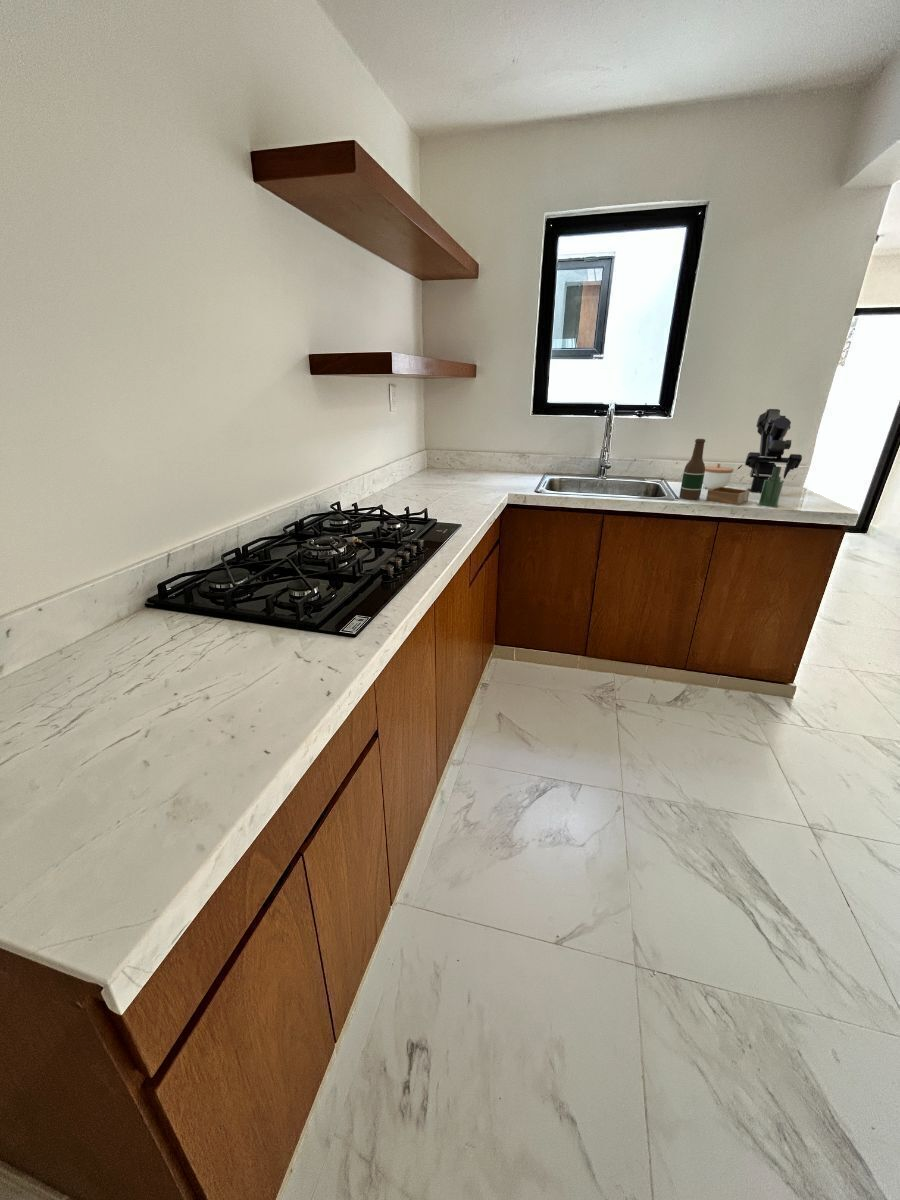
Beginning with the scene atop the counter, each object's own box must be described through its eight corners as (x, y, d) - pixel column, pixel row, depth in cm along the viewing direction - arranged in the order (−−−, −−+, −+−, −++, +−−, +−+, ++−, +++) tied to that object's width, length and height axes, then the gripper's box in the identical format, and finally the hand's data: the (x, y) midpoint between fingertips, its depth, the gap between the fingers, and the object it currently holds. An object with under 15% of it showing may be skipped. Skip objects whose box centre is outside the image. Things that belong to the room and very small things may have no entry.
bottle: (754, 504, 198) (763, 466, 192) (767, 503, 200) (777, 465, 194) (768, 508, 192) (778, 468, 186) (781, 507, 194) (791, 467, 188)
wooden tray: (717, 497, 211) (719, 486, 209) (747, 501, 203) (749, 490, 201) (705, 501, 204) (708, 490, 202) (736, 505, 196) (738, 494, 194)
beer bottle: (698, 498, 209) (710, 438, 200) (700, 501, 203) (712, 440, 193) (678, 496, 212) (689, 437, 202) (679, 500, 205) (690, 439, 196)
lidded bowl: (734, 490, 225) (740, 465, 221) (706, 490, 225) (711, 465, 221) (721, 485, 237) (726, 461, 233) (694, 485, 237) (698, 461, 233)
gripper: (753, 431, 201) (749, 463, 196) (807, 433, 194) (805, 466, 189) (746, 449, 210) (742, 480, 205) (798, 451, 203) (796, 483, 198)
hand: (771, 477), depth 199 cm, fingers open, 9 cm apart
